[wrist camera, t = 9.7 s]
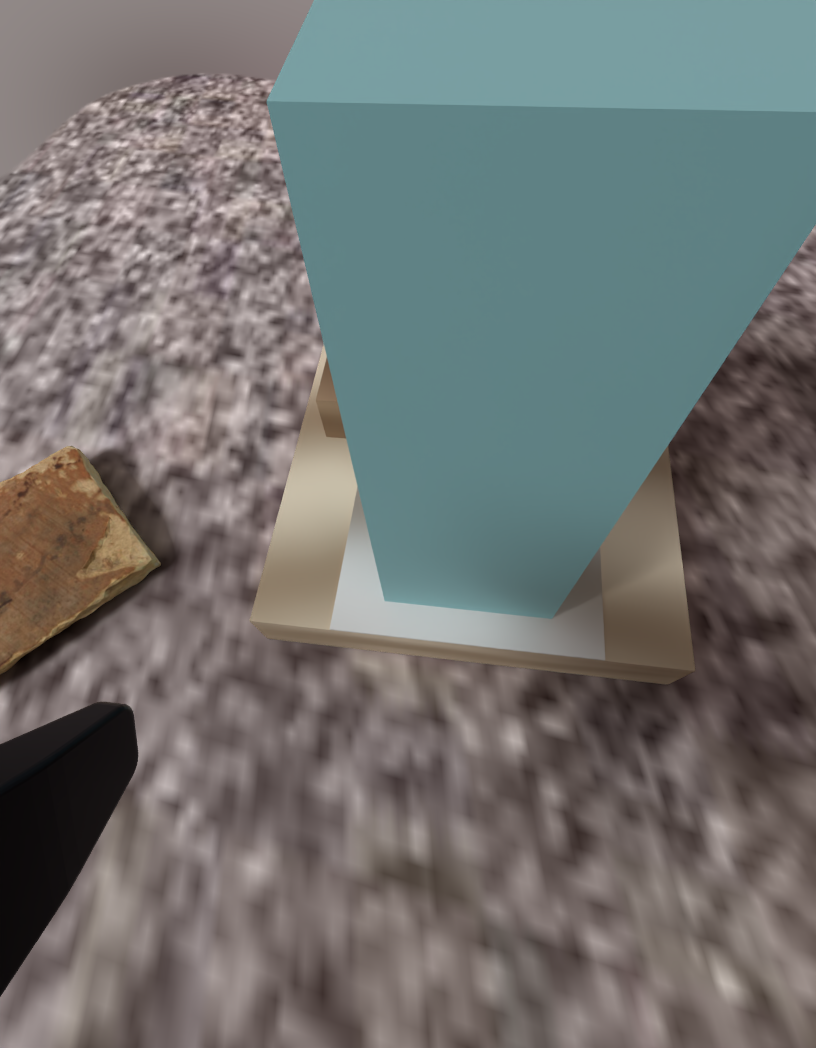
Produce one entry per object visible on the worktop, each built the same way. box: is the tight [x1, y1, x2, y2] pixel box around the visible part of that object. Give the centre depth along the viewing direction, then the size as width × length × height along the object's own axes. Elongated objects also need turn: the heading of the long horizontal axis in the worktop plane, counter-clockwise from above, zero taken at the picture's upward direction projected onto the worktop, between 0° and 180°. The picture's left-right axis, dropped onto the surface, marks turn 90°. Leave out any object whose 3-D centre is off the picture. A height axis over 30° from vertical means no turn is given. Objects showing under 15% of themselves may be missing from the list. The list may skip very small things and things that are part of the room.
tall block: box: [267, 0, 816, 619], centre depth 11 cm, size 5×5×13 cm
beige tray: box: [250, 345, 695, 685], centre depth 20 cm, size 22×13×4 cm, turn 173°
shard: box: [0, 446, 161, 674], centre depth 19 cm, size 11×8×2 cm
